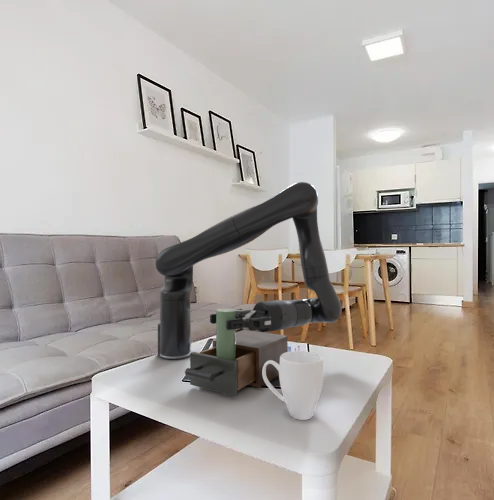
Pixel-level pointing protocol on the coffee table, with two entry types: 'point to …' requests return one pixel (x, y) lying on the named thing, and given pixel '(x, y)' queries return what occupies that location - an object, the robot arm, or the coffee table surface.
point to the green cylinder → (225, 334)
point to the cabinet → (262, 351)
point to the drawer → (222, 371)
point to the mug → (298, 382)
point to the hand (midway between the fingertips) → (218, 322)
